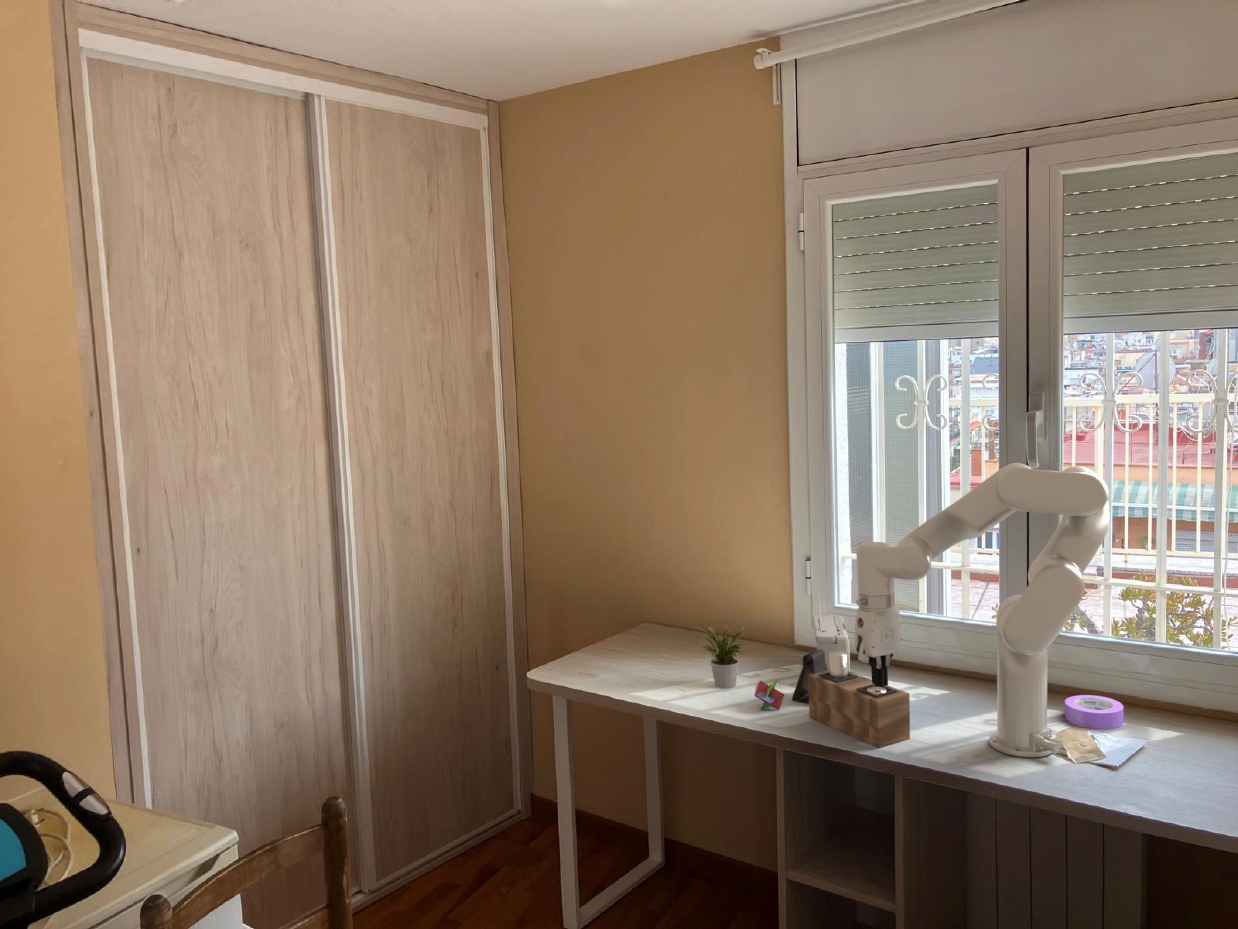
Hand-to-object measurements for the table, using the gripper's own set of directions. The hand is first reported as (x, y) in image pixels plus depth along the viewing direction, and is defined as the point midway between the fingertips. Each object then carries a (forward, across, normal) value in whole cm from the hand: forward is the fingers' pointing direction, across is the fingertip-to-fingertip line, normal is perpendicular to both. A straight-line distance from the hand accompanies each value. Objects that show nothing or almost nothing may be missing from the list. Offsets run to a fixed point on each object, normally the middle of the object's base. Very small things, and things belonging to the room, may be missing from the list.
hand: (880, 684), depth 212 cm
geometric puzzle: (+11, -9, +28) cm, 31 cm away
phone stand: (+11, +3, +26) cm, 28 cm away
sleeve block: (+12, -1, +7) cm, 13 cm away
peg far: (+5, -1, +13) cm, 14 cm away
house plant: (+11, -9, +48) cm, 50 cm away
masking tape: (+13, +44, -19) cm, 50 cm away
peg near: (+10, -1, +1) cm, 10 cm away
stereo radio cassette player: (+12, +19, +38) cm, 44 cm away
